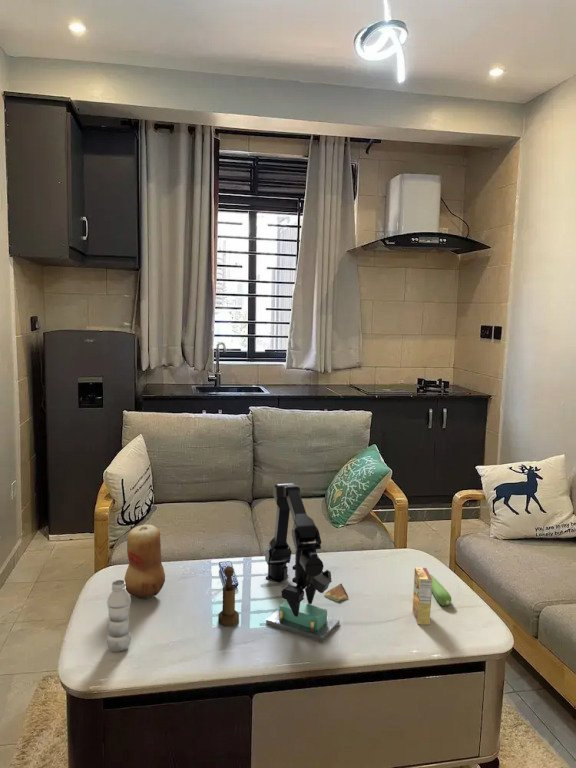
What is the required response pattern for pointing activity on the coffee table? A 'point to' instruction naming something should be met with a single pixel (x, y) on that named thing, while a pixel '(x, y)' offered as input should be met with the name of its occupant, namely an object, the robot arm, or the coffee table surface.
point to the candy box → (422, 596)
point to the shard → (337, 593)
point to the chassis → (303, 627)
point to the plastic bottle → (118, 617)
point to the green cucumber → (440, 592)
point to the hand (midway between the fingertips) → (303, 609)
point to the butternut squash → (144, 562)
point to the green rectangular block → (305, 614)
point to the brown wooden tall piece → (228, 602)
